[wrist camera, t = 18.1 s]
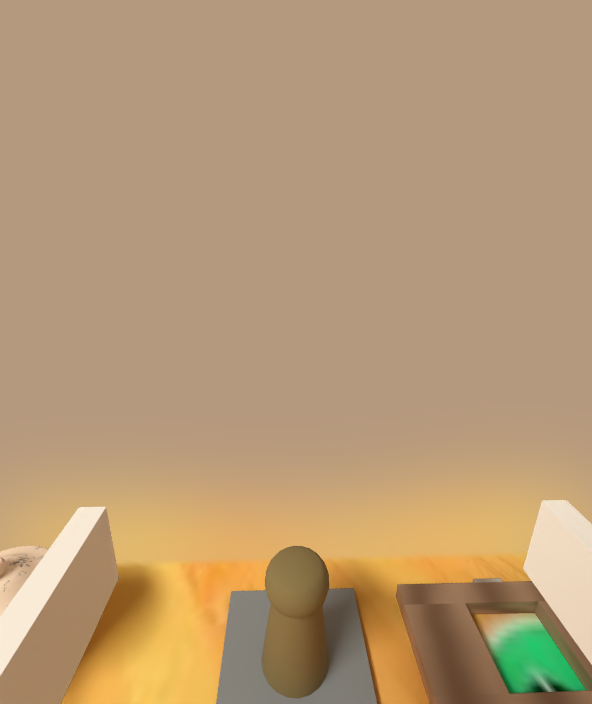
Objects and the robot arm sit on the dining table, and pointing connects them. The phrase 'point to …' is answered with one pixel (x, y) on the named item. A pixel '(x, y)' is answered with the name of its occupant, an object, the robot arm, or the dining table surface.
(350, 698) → the gray mat
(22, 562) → the teacup with lid
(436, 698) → the walnut holder
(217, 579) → the dining table surface
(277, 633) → the brown tall rounded piece
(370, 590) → the dining table surface
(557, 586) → the robot arm
